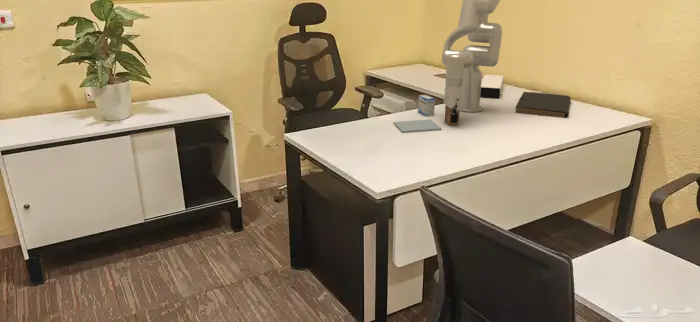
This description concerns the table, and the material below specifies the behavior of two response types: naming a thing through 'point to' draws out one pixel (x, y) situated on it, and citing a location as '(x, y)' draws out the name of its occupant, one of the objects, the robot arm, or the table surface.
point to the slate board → (416, 126)
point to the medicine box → (426, 105)
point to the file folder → (543, 104)
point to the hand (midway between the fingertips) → (451, 120)
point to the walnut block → (448, 116)
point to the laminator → (491, 86)
